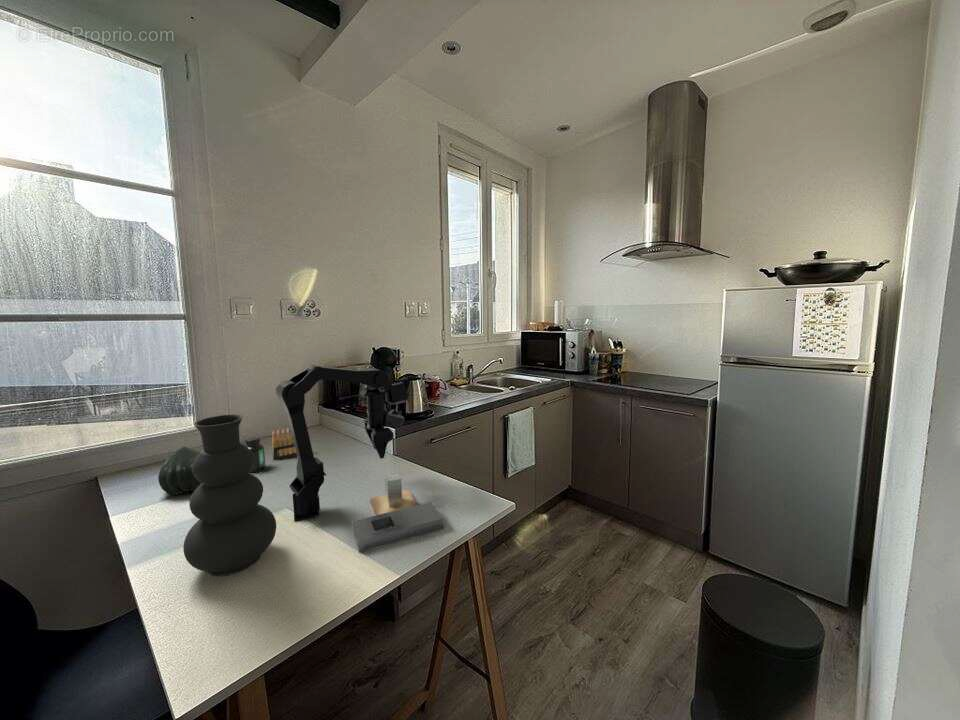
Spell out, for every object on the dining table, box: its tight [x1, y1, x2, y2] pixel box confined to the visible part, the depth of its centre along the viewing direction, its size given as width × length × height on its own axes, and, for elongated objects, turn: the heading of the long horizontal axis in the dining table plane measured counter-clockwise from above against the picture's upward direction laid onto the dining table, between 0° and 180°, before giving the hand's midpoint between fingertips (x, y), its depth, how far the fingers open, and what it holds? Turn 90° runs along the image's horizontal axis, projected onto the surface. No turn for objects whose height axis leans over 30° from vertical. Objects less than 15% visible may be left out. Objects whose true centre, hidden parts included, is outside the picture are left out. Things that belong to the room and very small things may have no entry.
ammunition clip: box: [271, 427, 297, 461], centre depth 157 cm, size 11×2×12 cm, turn 124°
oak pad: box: [369, 489, 419, 516], centre depth 116 cm, size 12×12×1 cm
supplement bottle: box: [244, 436, 267, 474], centre depth 145 cm, size 7×7×12 cm
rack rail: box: [352, 501, 444, 553], centre depth 104 cm, size 22×10×3 cm, turn 116°
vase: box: [182, 413, 277, 577], centre depth 90 cm, size 18×18×35 cm
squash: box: [157, 445, 201, 495], centre depth 130 cm, size 14×15×15 cm
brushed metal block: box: [384, 473, 403, 507], centre depth 116 cm, size 4×4×8 cm
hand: (379, 453), depth 127 cm, fingers open, 9 cm apart
